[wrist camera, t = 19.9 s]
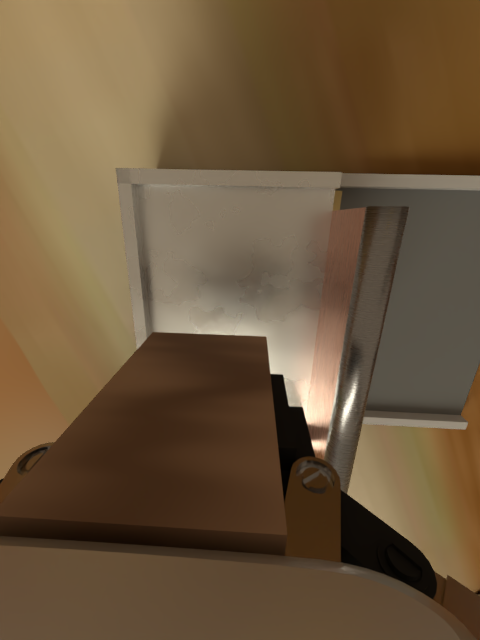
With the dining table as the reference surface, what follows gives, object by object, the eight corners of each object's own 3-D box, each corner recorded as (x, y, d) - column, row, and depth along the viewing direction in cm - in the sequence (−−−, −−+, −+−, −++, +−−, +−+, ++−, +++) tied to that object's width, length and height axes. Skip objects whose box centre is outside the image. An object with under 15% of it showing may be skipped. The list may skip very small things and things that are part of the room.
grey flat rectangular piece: (538, 180, 20) (561, 177, 18) (453, 417, 27) (465, 429, 26) (155, 173, 21) (147, 169, 20) (172, 403, 28) (167, 413, 27)
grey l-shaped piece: (342, 182, 20) (431, 146, 10) (311, 412, 27) (345, 526, 17) (145, 178, 20) (40, 140, 10) (164, 404, 27) (112, 510, 17)
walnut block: (266, 336, 12) (286, 534, 4) (260, 428, 14) (269, 682, 6) (152, 331, 12) (-10, 515, 5) (161, 423, 14) (52, 664, 6)
